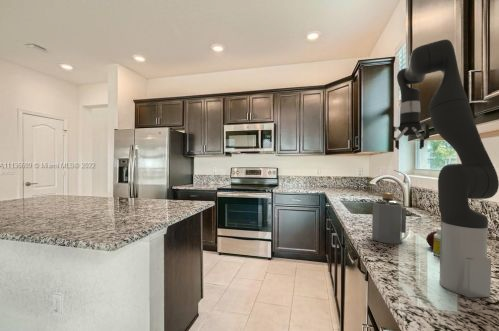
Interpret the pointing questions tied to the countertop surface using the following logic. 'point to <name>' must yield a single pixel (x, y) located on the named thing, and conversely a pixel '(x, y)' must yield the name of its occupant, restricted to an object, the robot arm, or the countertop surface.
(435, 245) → the supplement bottle
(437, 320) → the countertop surface
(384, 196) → the plunger
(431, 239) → the potato
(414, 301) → the countertop surface
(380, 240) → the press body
